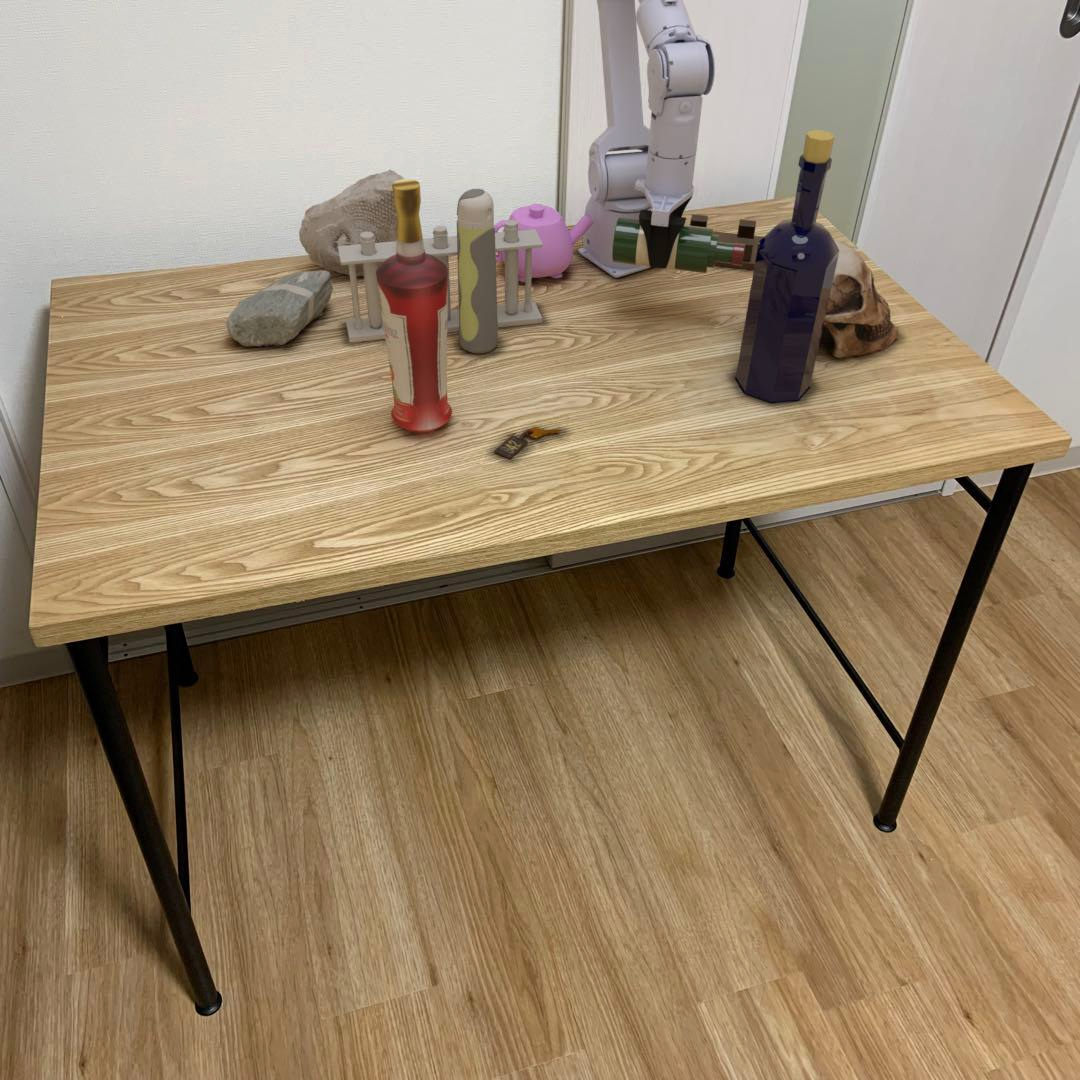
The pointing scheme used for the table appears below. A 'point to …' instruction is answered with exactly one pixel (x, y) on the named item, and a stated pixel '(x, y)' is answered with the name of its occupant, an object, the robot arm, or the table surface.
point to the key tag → (520, 441)
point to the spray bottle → (477, 272)
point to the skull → (855, 309)
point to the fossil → (350, 221)
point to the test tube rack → (441, 249)
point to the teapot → (546, 240)
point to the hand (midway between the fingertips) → (661, 255)
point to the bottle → (790, 290)
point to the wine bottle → (675, 248)
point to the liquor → (415, 320)
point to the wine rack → (735, 240)
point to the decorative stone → (280, 309)
